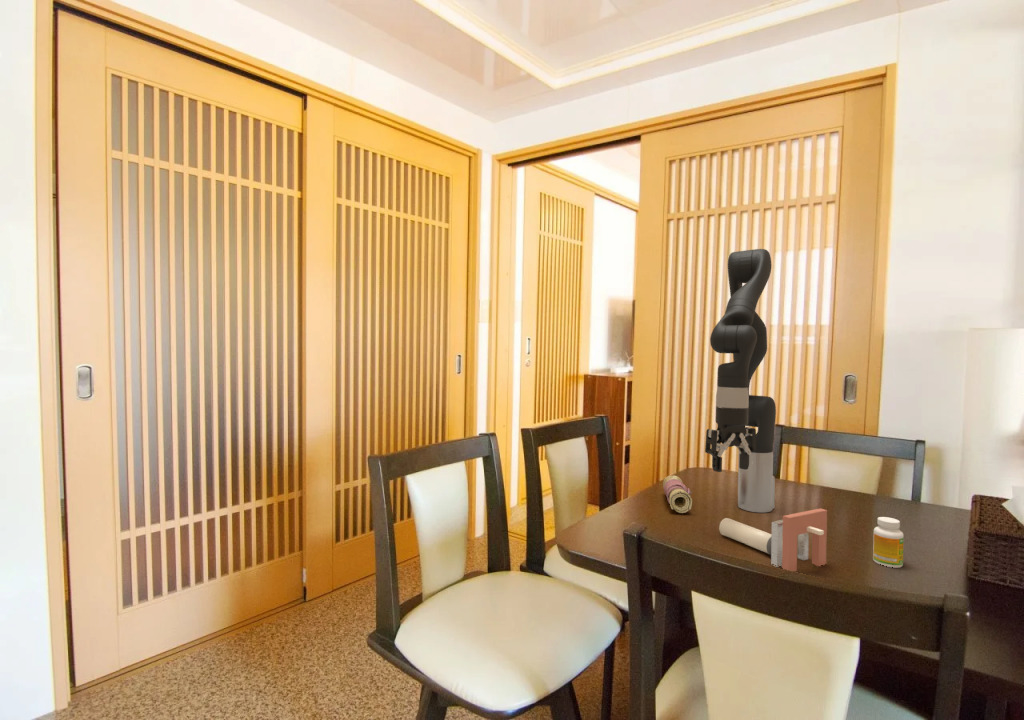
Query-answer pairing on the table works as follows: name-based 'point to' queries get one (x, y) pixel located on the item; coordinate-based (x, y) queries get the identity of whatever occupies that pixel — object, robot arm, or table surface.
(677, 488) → the scroll
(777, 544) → the grey u-shaped panel
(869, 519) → the table surface
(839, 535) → the table surface
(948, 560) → the table surface
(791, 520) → the wall
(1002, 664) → the table surface
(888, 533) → the supplement bottle
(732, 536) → the white long cylinder
